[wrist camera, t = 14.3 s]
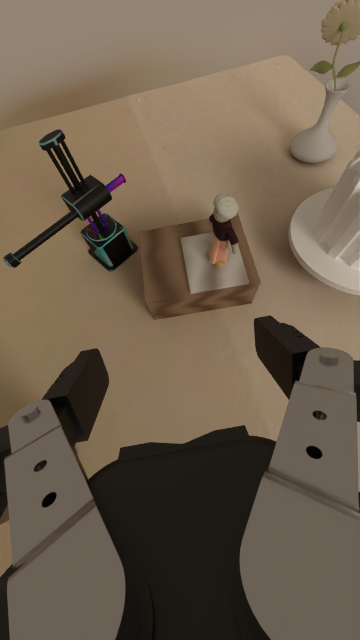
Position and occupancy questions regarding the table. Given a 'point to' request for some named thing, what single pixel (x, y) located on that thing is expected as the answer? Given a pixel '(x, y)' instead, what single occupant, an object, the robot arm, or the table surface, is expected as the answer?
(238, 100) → the table surface
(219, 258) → the grandmother figurine
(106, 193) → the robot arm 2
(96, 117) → the table surface
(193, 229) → the stand
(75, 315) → the table surface
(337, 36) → the flower in vase
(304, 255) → the ribbed cylinder on disc
